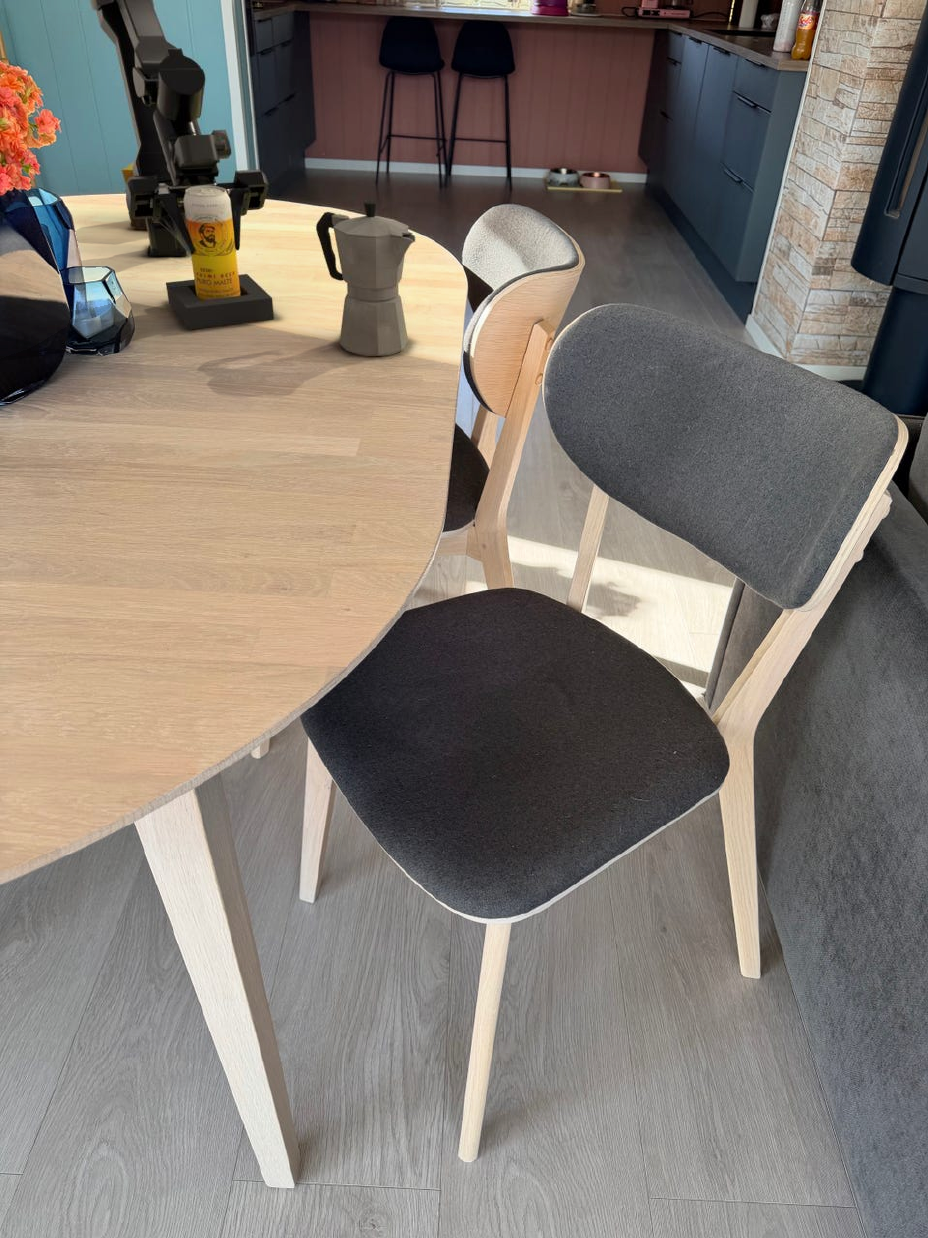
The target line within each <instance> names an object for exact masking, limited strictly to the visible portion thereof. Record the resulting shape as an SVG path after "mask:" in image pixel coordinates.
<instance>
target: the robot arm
mask: <svg viewBox="0 0 928 1238" xmlns="http://www.w3.org/2000/svg"><path fill="white" fill-rule="evenodd" d="M89 2H90V6H91V9H92V11H94V12H95V11H96V15H97V20H98V24H99V26H100V28H101V30H102V31H103V32H104V33H105V34H106V36H107V37H108V38H109V40H110V41H111V42H112V43H113V44H114V47H115V50H116V55H117V59H118V63H119V68H120V72H121V77H122V81H123V82H122V83H123V88H124V92H125V95H126V100H127V104H128V108H129V113H130V114H129V115H130V117H131V122H132V126H133V130H134V136H135V141H136V144H137V152H136V155H135V159H134V161H133V162H134V164H133V174H134V176H132V177H129V179H128V181H127V182H126V183H125V202H126V208H127V211H128V215H129V214H130V217H131V218H133V219H145V218H146V224H147V230H146V231H147V236H148V240H149V245H148V248H147V250H146V252H145V253H146V256H147V257H180V256H181V257H184V256H185V257H186V256H188V254H189V255H190V256H191V255H193V254H194V249H193V245H192V241H191V238H190V236H189V233H188V230H187V228H186V225H185V223H184V220H183V218H182V215H181V214H182V213H185V207H184V196H185V193H186V192H185V190H186V189H188V188H191V187H195V186H217V187H222V188H224V189H226V193H227V194H228V196H229V198H230V202H231V211H232V221H233V230H234V239H235V248H236V251H240V247H241V226H242V225H241V224H242V222H241V220H242V217H243V216H246V215H247V214H248V211H258V210H261V209H263V208H264V207H265V203H266V198H267V194H268V191H269V186H270V185H269V182H268V179H267V176H266V175H267V174H265V173H264V172H263V171H262V170H261V169H259V168H258V169H244V170H235V172H234V176H233V181H231V182H230V181H229V182H218V183H217V180H216V178H218V177H219V173H220V170H219V166H218V164H219V163H220V162H221V160H227V159H229V158H230V156H231V155H232V146H231V142H230V139H229V135H228V132H227V130H226V129H213V130H212V132H211V133H210V134H202V131H201V128H200V125H199V121H198V119H200V118H201V116H202V112H203V111H202V110H203V103H204V94H205V88H206V87H205V85H206V74H205V70H204V69H203V68H202V67H201V65H199V64H198V62H197V61H196V60H194V59H192V58H191V57H188V56H186V55H184V52H183V49H182V48H181V47H176V46H175V45H174V44H171V43H170V42H169V41H168V40H167V38H166V35H165V33H164V31H163V28H162V25H161V22H160V20H159V17H158V15H157V12H156V10H155V5H154V0H89ZM130 217H129V218H130Z"/></svg>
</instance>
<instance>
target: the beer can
mask: <svg viewBox="0 0 928 1238" xmlns="http://www.w3.org/2000/svg"><path fill="white" fill-rule="evenodd" d="M185 192H186V193H185V196H184V207H185V215H186V222H187V229H188V230H187V231H188V233H189V236H190V238H191V241H192V245H193V249H194V254H193V255H190V257H191V264H192V272H193V280H195V287H196V294H197V298H198V299H199V300H208V299H217V298H226V297H234V296H241V294H240V285H239V276H238V275H239V268H238V260H237V259H238V257H237V250H236V248H235V239H234V230H233V221H232V211H231V202H230V198H229V196H228V194H227V193H226V189H224V188H222V187H217V186H195V187H191V188H188V189H186V190H185Z"/></svg>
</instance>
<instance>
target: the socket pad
mask: <svg viewBox="0 0 928 1238" xmlns="http://www.w3.org/2000/svg"><path fill="white" fill-rule="evenodd" d="M238 276H239V285H240V294H241V296H234V297H226V298H217V299H208V300H199V299H198V298H197V294H196V287H195V280H194V279H185V280H177V281H168V282H165V287H166V293H167V300H168V304H169V306H171V308H172V309H173V311H174V312H175V313H176V314H177V316H178V317H179V318H180V320H181V321H182V322H183V323H184V325H185V326H186V327H187V328H188V330H189V331H191V330H198V329H207V328H215V327H222V326H231V325H237V324H246V323H254V322H260V321H261V322H262V321H269V320H274V319H275V314H274V304H273V297H272V296H271V295H270V294H269V293H267V291H266V290H264V288H263V287H261V285H259V284H258V283H257V282H256V281H255V280H254V279H253V277H251V276H250V275H249V274H248V273H244V274H238Z"/></svg>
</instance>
